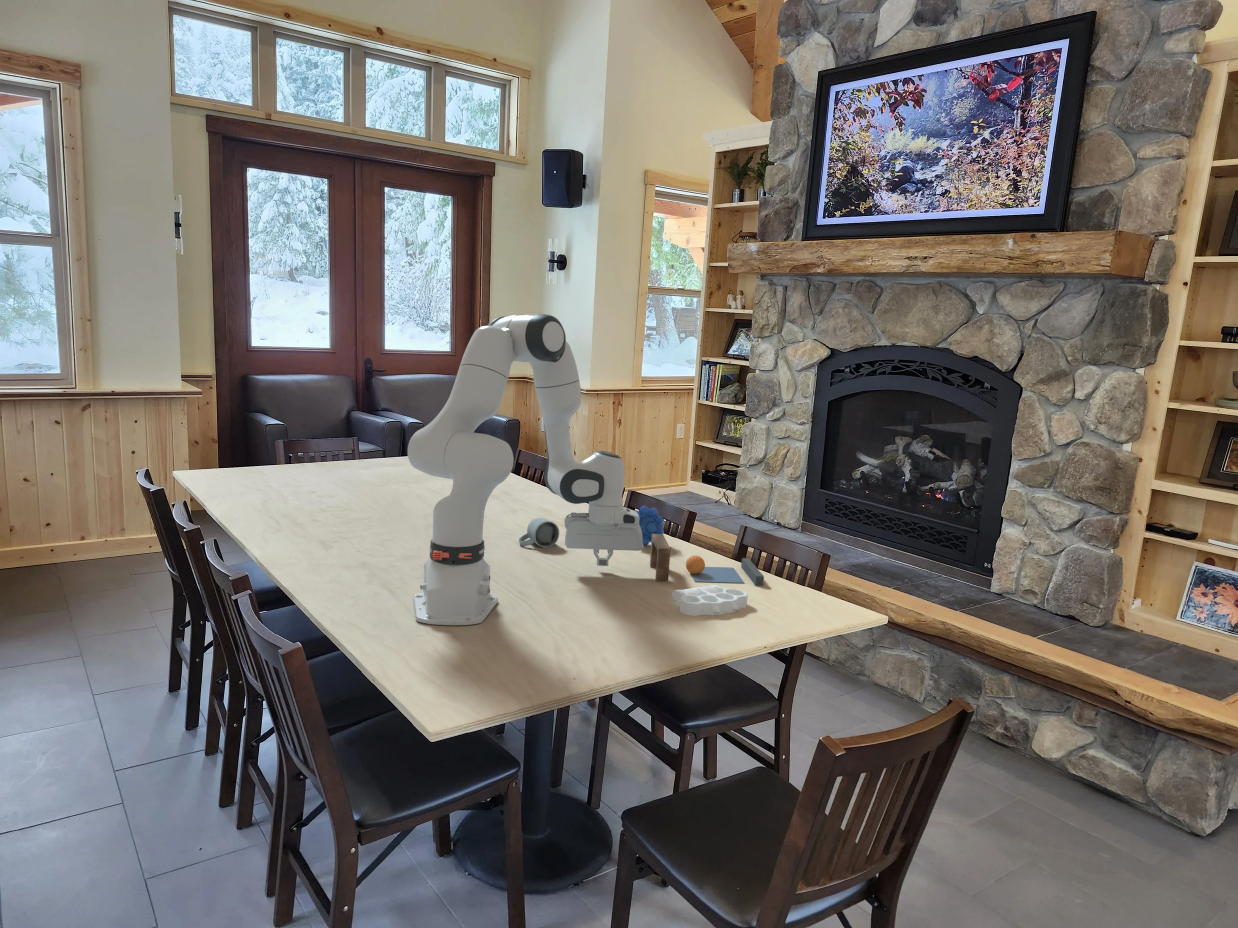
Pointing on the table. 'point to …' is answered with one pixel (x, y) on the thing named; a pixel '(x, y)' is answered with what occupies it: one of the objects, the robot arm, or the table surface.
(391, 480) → the table surface
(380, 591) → the table surface
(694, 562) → the ball
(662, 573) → the bridge
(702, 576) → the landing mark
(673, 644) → the table surface
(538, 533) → the ceramic mug
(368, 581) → the table surface
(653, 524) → the blue flower
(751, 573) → the rail
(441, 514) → the robot arm
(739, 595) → the white paint palette
